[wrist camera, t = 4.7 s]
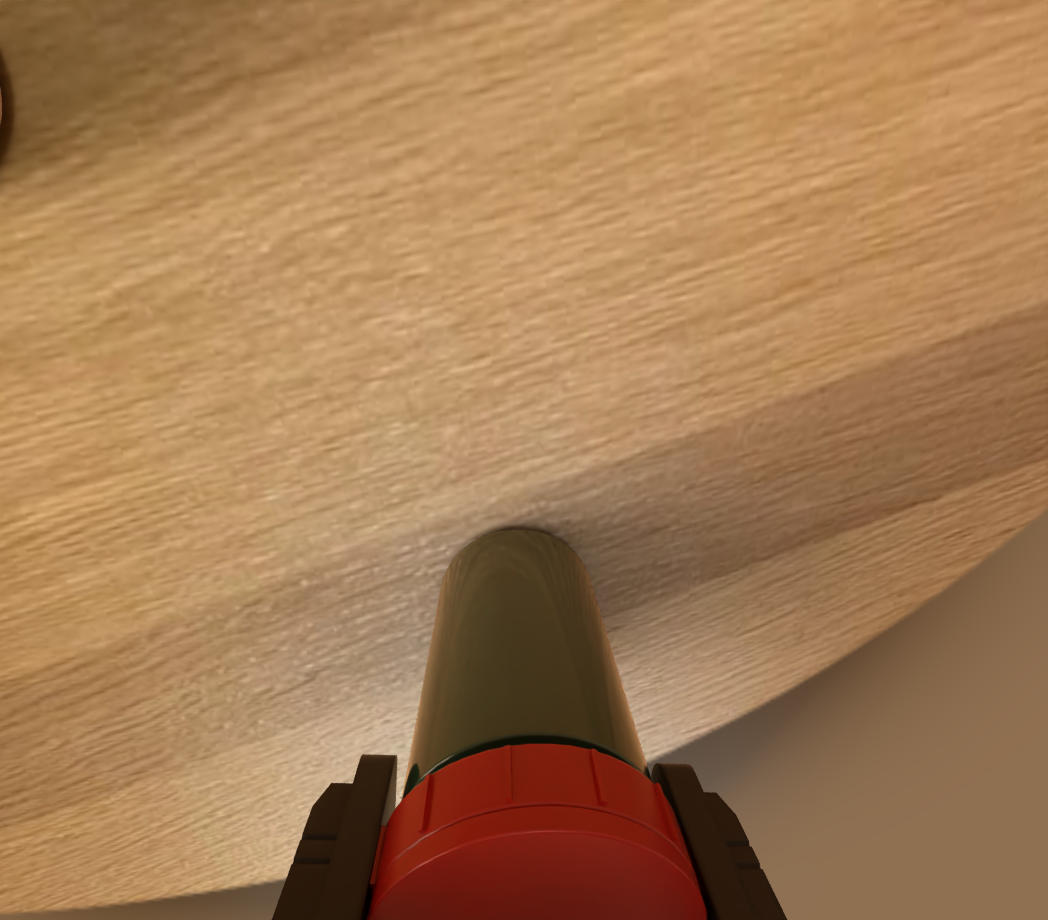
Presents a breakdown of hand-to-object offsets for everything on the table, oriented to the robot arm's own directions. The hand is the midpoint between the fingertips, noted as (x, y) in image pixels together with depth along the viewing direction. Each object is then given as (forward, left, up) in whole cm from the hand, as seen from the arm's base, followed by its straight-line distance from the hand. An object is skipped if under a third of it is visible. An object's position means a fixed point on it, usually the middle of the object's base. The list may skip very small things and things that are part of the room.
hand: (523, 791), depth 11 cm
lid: (0, 0, +2) cm, 2 cm away
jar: (0, -1, -7) cm, 7 cm away
